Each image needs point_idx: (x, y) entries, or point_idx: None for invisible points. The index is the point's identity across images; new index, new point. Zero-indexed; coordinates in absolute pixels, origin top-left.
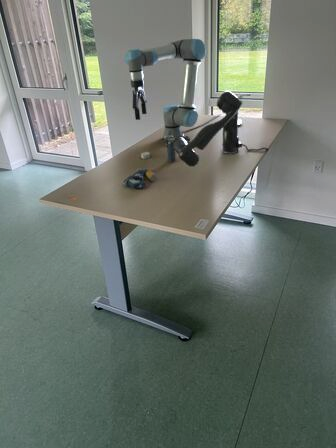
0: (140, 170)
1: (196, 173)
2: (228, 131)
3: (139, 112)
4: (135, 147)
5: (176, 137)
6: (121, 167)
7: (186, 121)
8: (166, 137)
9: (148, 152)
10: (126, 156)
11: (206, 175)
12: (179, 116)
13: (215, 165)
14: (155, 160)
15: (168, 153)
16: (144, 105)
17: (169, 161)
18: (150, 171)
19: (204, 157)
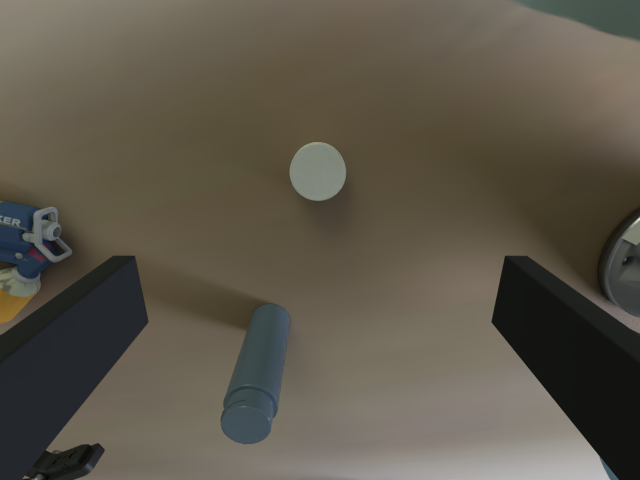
0: (15, 238)
1: (143, 429)
2: None
3: (76, 409)
4: (521, 26)
5: (614, 293)
6: (128, 60)
7: (607, 468)
8: (69, 474)
9: (339, 187)
10: (327, 19)
11: (133, 459)
12: None
13: (233, 474)
14: (266, 241)
15: (244, 339)
16: (600, 432)
17: (252, 314)
18: (5, 298)
19: (318, 435)
